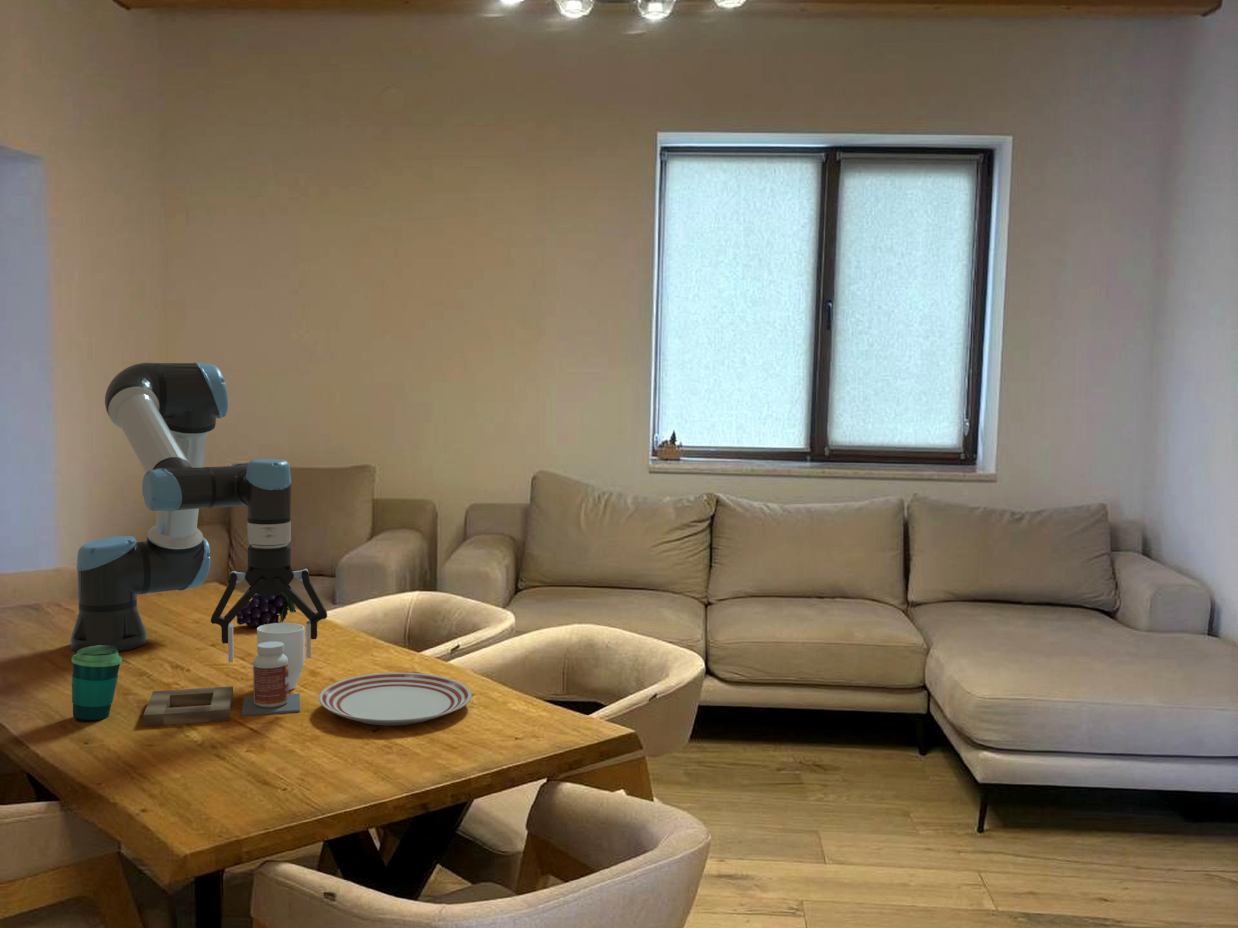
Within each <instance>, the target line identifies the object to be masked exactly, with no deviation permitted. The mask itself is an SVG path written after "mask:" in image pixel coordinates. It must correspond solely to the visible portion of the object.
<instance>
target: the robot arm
mask: <svg viewBox="0 0 1238 928" xmlns="http://www.w3.org/2000/svg"><path fill="white" fill-rule="evenodd" d="M104 406H105V409H106V410H105V411H106V413H107V414H108V417H109V419H110V420H111V422H112V423H113V424H114V425H115V426H117V427H118V428H121V429H122V431H123V433H124V435H125V437H126V439H127V440H128V442H129V444H130V446H131V447H132V450H133V452H134V453H135V455H136V457H137V459H138V461H139V462H140V464H141V467H142V468H143V469H144V472H145V474H144V475H143V478H142V489H141V490H142V491H141V492H142V497H143V502H144V504H145V506H146V508H148V509H149V510H150V511H153V512H156V517H155V518H156V519H155V525H153V526H151V528H150V529H148V531H147V534H146V535H147V536H146V540H144V541H137V539H136V538H135V536H132V535H119V536H118V535H117V536H115V535H114V536H109V537H104V538H103V537H102V538H98V539H96V540H92V541H89V542H87V543H84V544H83V545H82V546H81V547H79V549H78V551H77V560H76V561H77V562H76V567H75V568H76V570H77V593H78V594H77V596H78V597H77V598H78V601H77V602H78V614H77V617H76V620H75V623H74V627H73V629H72V633H71V636H70V649H71V650H72V651H74V652H77V651H78V650H79V649H82V648H85V647H90V646H97V645H110V646H115V647H116V648H117V651H118V653H119V652H124V651H130V650H133V649H136V648H139V647H140V648H141V647H142V646H144V645H145V644H146V643H147V640H148V639H147V631H146V628H145V625H144V622H143V620H142V616H141V615H140V612H139V610H138V595H147V594H155V593H156V594H157V593H163V592H172V591H178V592H179V591H180V592H181V591H185V590H188V589H195V588H198V587H199V586H201V585H202V584H204V582H205V581H206V580H207V578H208V574H209V571H210V566H211V557H210V556H211V555H210V554H211V548H210V547H211V546H210V543H209V542H208V540H207V539H206V537H204V534H203V532H202V531H201V530H200V529H199V528H198V522H199V521H198V520H199V513H200V512H199V510H200V509H210V508H211V509H214V508H229V507H240V506H242V507H243V506H246V509H247V510H246V511H247V515H246V516H247V519H246V520H247V525H246V526H247V543H248V544H249V546H248V547H247V571H246V572H239V571H236V570H231V571H230V573H229V579H228V583H227V586H226V588H225V590H224V592H223V594H222V596H221V597H220V599H219V602H218V603H217V605H216V607H215V609H214V611H213V613H212V615H211V618H210V623H211V624H213V625H218V626H220V627H221V629H220V631H221V643H222V644H225V645H226V644H227V648H228V649H227V650H228V651H227V653H228V657H227V659H228V660H227V661H228V663H233V662H234V648H235V647H234V622H233V623H231V622H232V621H233V620H234V619H235V617H236V615H237V614H238V613H239V612H240V611H241V610H242V608H243V607H244V606H245V605H246V604H247V603H248V602H249V601H251V600H252V599H253V596H254V595H256V594H258V595H261V596H267V595H273V596H279V594H281V593H284V594H285V595H286V596H287V597H288V598H289V599H290V600H291V601H292V602H293V603H294V605H295V607H296V608H297V609H298V610H299V611H300V612H301V613H302V614H303V615H304V616H305V617H306V618H307V619H306V621H305V622H306V623H305V625H306V627H305V628H306V629H305V630H306V631H305V632H306V633H305V635H306V639H305V640H306V642H305V643H306V644H305V646H306V647H305V651H306V659H311V658H312V655H311V654H312V647H311V646H312V645H311V644H312V643H311V642H312V640H317V638H318V623H319V622H320V621H322V620H326V619H327V618H328V612H327V610H326V608H325V605H324V604H323V602H322V600H321V599H320V596H319V595H318V593H317V591H316V589H315V588H314V584H312V582H311V580H310V574H309V569H308V568H306V567H304V568H302V569H301V570H293V568H292V546H291V545H290V542H291V541H292V520H291V519H292V518H291V516H292V515H291V509H292V506H291V503H292V502H291V501H292V499H291V498H292V497H291V496H292V495H291V494H292V488H291V487H292V477H291V466H290V464H289V461H287V460H285V459H280V458H279V459H278V458H256V459H252V460H250V461H249V462H246V463H243V462H238V463H234V464H232V465H227V466H205V467H204V464H205V455H206V447H207V446H206V445H207V438H208V437H207V436H208V435H209V434H210V433H211V432H213V431H214V430H215V429H216V426H217V425H216V424H217V419H219V420H220V419H223V418H225V417H226V416H227V414H228V410H229V395H228V389H227V384H226V380H225V378H224V375H223V373H222V372H221V370H220V369H219V368H218V366H216V365H214V364H212V363H198V362H196V361H195V362H189V363H188V362H182V363H181V362H141V363H136V364H135V363H134V364H133V365H130V366H128V367H126V368H124V369H123V370H121V371H120V372H118V373H117V374H116V375H115V376H114V377H113V379H112V380H111V381H110V383H109V385H108V386H107V388H106V392H105V395H104ZM294 578H295V579H297V581H298V582H299V583H302V585H303V588H304V589H305V591H306V593H307V594H308V596H309V599H310V600H311V602H312V604H313V606H314V608H315V610H316V613H315V612H314V611H313V609H312V608H311V607H310V606H309V605H308V604H307V603H306V602H305V601H304V600H303V599H302V598H301V597H300V595H299V594H298V593H297V592H296V591H295V590H294V589H293V588H292V586H291V585H290V584H291V583H292V581H293V580H294ZM243 580H245V581H246V583H247V584H248V585H249V587H248V589H246V591H245V593H243V595H242V596H241V597H240V598H239V599H238V601H237V602H236V603H235V604H234V605H233V606H232V608H230V610H228V612H227V613H226V614H225V615H224V616H221V615H222V614H223V611H224V610H225V608H226V606H227V604H228V602H229V600H230V598H231V596H232V595H233V592H234V590H235V588H236V587H237V586H236V585H240V584H241V582H243Z"/></svg>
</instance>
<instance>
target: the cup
mask: <svg viewBox="0 0 1238 928" xmlns="http://www.w3.org/2000/svg"><path fill="white" fill-rule="evenodd" d="M71 662H72V675H71V703H72V717H73V718H74V720H75V721H76V722H79V723H93V722H99V721H102V720H105V719H107V718H109V716H110V712H111V707H112V704H113V702H114V697H115V693H116V688H117V683H118V678H119V675H118V674H119V671H120V665H121V664H122V662H123V658H122V656H120V655H119V652H118V651H117V648H116V647H115V646H110V645H97V646H90V647H85V648H82V649H79V650H78V651H76V654H74V655H72V657H71Z"/></svg>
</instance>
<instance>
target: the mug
mask: <svg viewBox="0 0 1238 928" xmlns="http://www.w3.org/2000/svg"><path fill="white" fill-rule="evenodd" d="M305 628H306V627H305V625H303V624H299V623H293V622H283V623H282V622H278V623H273V624H268V623H267V624H266V625H262V626H260V625H258V627H257V628H256V637H257V638H256V641H257V642H256V645H258V644H260V643H263V642H273V641H275V642H282V643H284V652H283V654H284V655H285V656H286V657H287V658H288V679H289V691H291V690H293V689H295V688H296V687H297V684H298V682H299V679H300V676H301V674H302V671H303V669H304V665H305V651H306V647H305V646H306V644H305V643H306V642H305V640H306V639H305V635H306V633H305V632H306V631H305V630H306V629H305ZM256 655H257V656H259V654H258V653H257V654H256Z"/></svg>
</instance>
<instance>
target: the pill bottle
mask: <svg viewBox="0 0 1238 928" xmlns="http://www.w3.org/2000/svg"><path fill="white" fill-rule="evenodd" d="M256 645H257V644H256ZM256 648H257V649H256V652H257V653H258V654H259V656H258V655H257V656H255V658H254V659H253V662H252V665H253V666H252V667H253V668H252V671H253V672H252V674H253V675H252V676H253V680H252V681H253V696H254V704H255V705H257V706H259V707H267V708H271V707H278V706H281V705H284V704H286V703H287V702H288V700H289V694H290V693H289V691H290V690H289V679H288V658H287V657H286V656H285V655H284V654H283V652H284V643H282V642H275V641H273V642H263V643H260V644H258V645H257V647H256Z"/></svg>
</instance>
